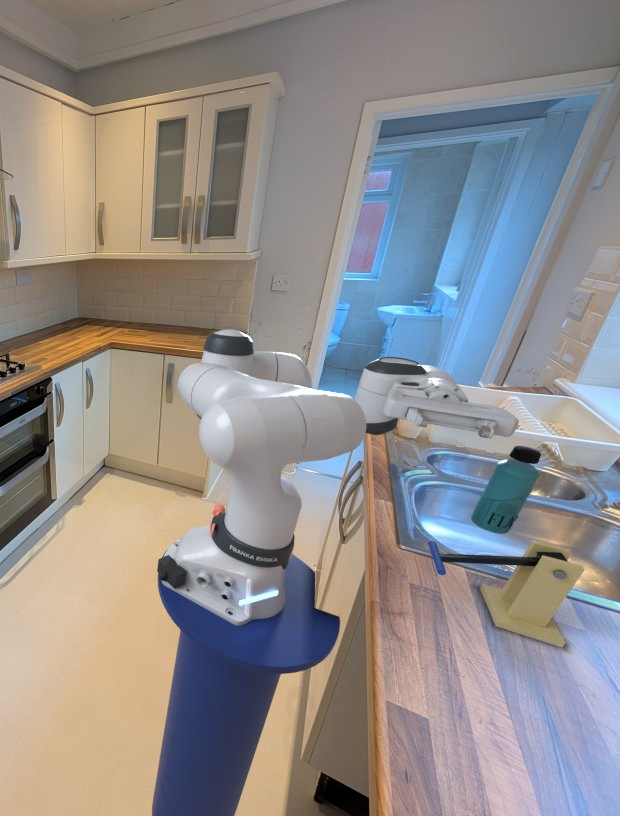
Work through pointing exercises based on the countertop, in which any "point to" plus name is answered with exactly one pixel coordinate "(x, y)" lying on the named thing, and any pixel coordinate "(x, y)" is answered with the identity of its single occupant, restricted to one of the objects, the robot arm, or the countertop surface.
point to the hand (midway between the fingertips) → (454, 428)
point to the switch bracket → (534, 595)
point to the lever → (486, 558)
